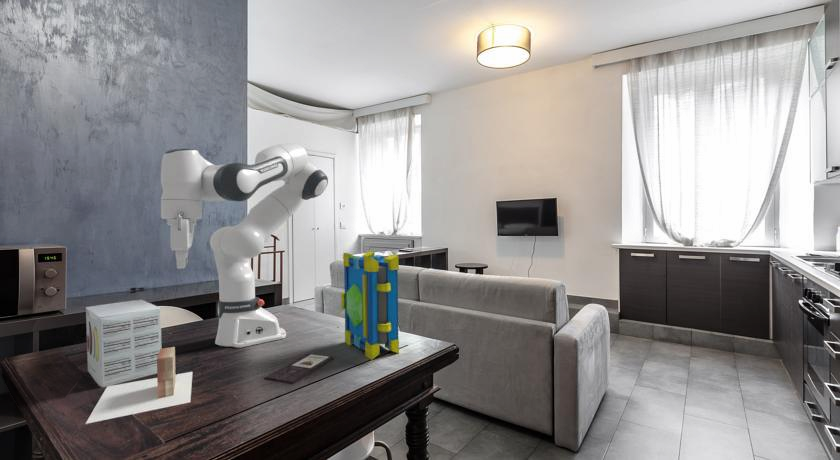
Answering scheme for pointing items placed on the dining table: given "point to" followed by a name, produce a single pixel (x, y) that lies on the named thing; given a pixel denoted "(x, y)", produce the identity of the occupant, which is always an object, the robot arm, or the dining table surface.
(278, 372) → the chocolate bar
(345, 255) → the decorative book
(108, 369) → the supplement box
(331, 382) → the dining table surface
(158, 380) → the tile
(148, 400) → the mat
